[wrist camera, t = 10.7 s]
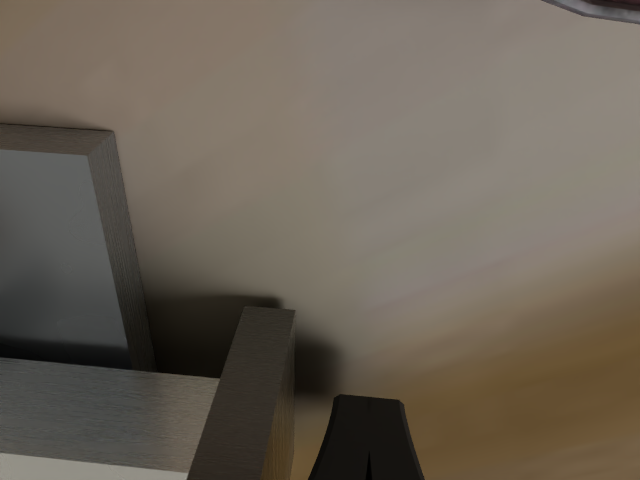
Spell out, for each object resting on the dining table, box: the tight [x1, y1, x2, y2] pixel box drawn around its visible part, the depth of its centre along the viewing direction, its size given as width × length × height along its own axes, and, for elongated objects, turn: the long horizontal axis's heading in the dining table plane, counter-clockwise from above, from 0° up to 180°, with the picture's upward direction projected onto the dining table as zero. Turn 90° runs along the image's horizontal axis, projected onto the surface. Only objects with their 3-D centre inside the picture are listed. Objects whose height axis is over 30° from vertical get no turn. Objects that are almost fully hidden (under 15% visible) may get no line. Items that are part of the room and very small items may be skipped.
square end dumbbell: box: [0, 306, 295, 480], centre depth 10 cm, size 4×7×4 cm, turn 88°
